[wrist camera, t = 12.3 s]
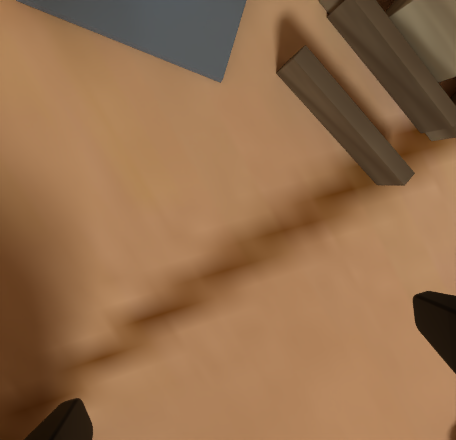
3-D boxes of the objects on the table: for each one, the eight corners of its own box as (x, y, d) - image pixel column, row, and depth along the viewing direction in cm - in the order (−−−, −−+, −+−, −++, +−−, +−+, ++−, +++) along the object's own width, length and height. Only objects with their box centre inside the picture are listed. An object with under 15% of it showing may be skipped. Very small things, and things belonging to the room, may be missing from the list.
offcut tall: (411, 91, 22) (502, 60, 17) (365, 33, 21) (446, -23, 15) (438, 60, 23) (538, 17, 17) (395, 0, 21) (486, -68, 16)
